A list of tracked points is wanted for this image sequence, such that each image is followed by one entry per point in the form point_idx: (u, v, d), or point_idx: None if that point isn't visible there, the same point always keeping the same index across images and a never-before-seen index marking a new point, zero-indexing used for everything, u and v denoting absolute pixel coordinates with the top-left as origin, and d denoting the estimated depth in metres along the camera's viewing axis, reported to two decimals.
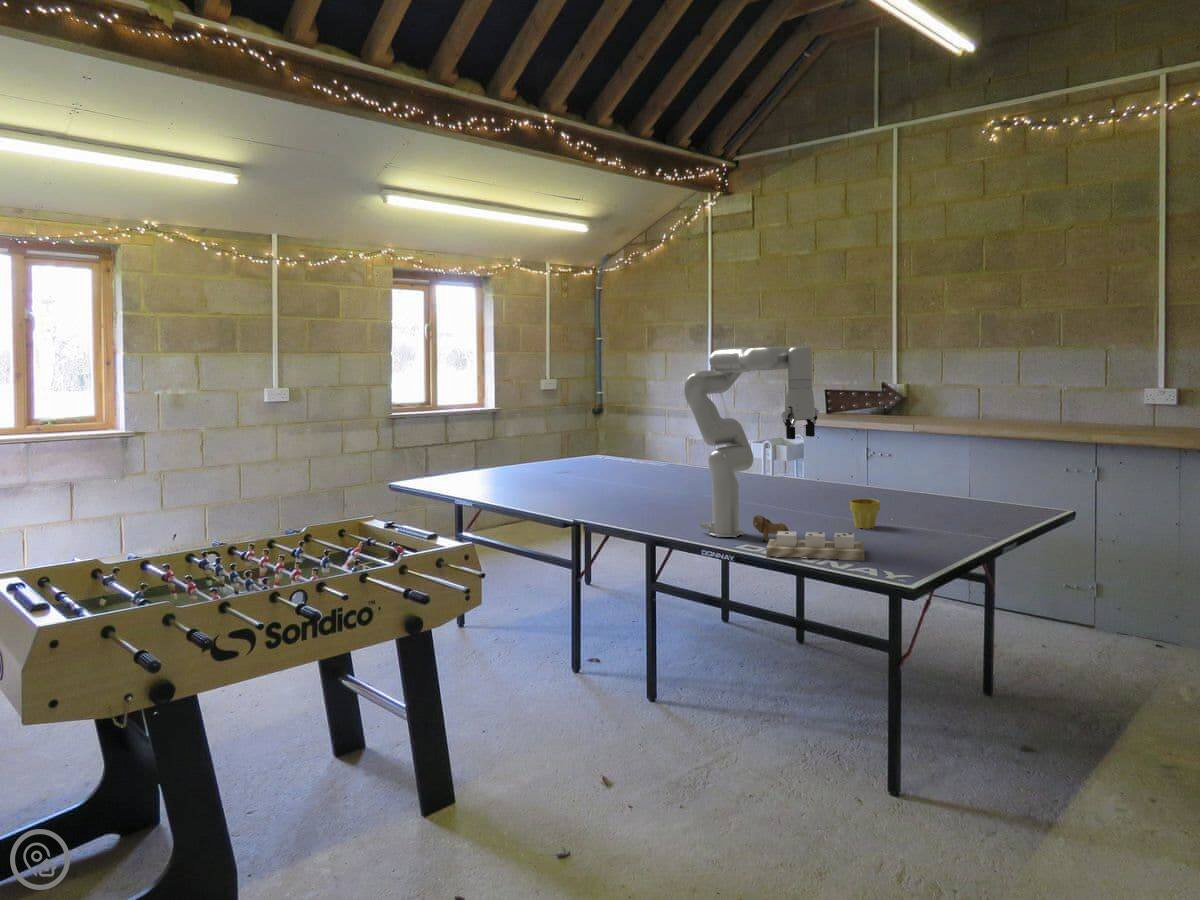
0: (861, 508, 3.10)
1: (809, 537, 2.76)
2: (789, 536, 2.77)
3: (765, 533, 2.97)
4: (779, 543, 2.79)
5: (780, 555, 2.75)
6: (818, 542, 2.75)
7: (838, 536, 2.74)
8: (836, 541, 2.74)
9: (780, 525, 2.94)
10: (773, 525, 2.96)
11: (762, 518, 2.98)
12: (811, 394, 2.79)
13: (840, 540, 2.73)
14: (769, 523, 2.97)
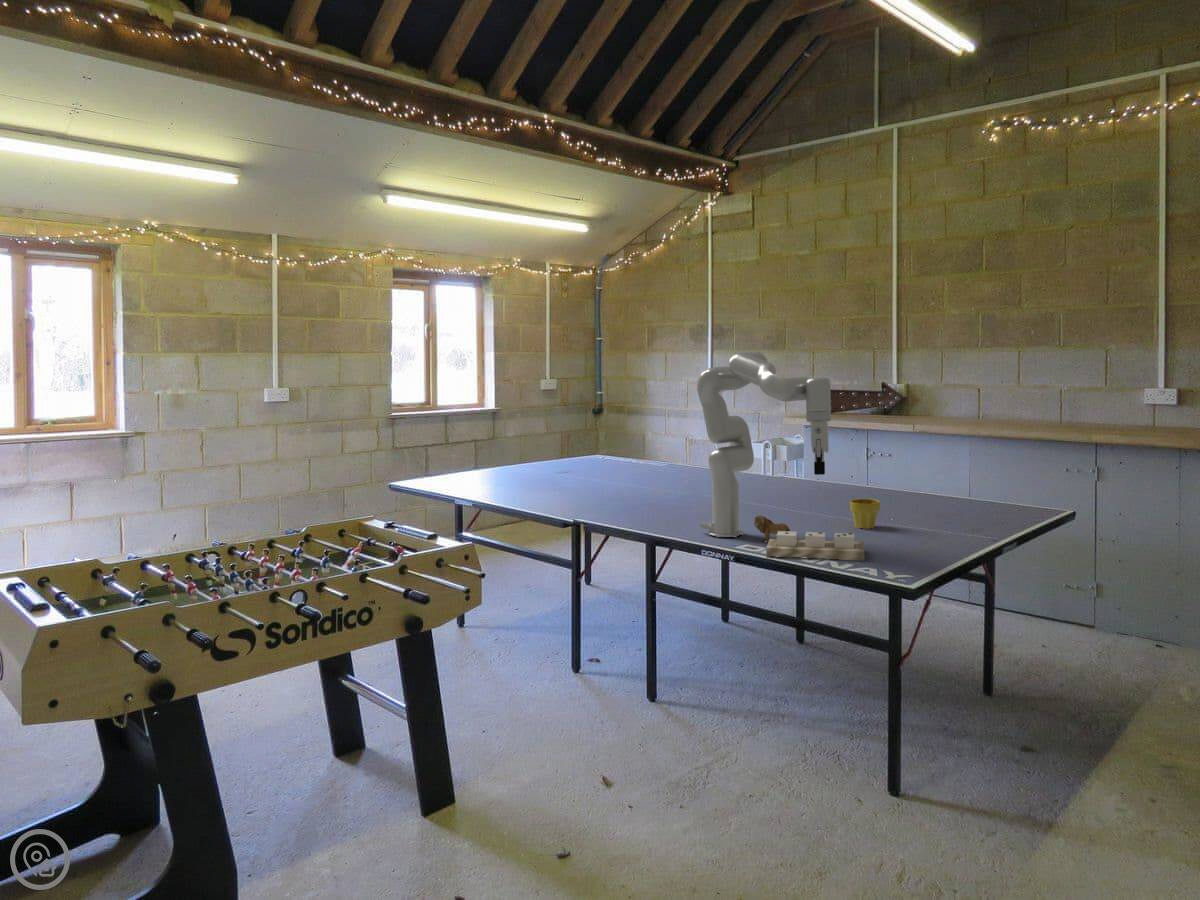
0: (861, 508, 3.10)
1: (809, 537, 2.76)
2: (789, 536, 2.77)
3: (767, 533, 2.97)
4: (779, 543, 2.79)
5: (780, 555, 2.75)
6: (818, 542, 2.75)
7: (838, 536, 2.74)
8: (836, 541, 2.74)
9: (782, 525, 2.94)
10: (775, 525, 2.96)
11: (763, 518, 2.97)
12: None
13: (840, 540, 2.73)
14: (770, 523, 2.97)
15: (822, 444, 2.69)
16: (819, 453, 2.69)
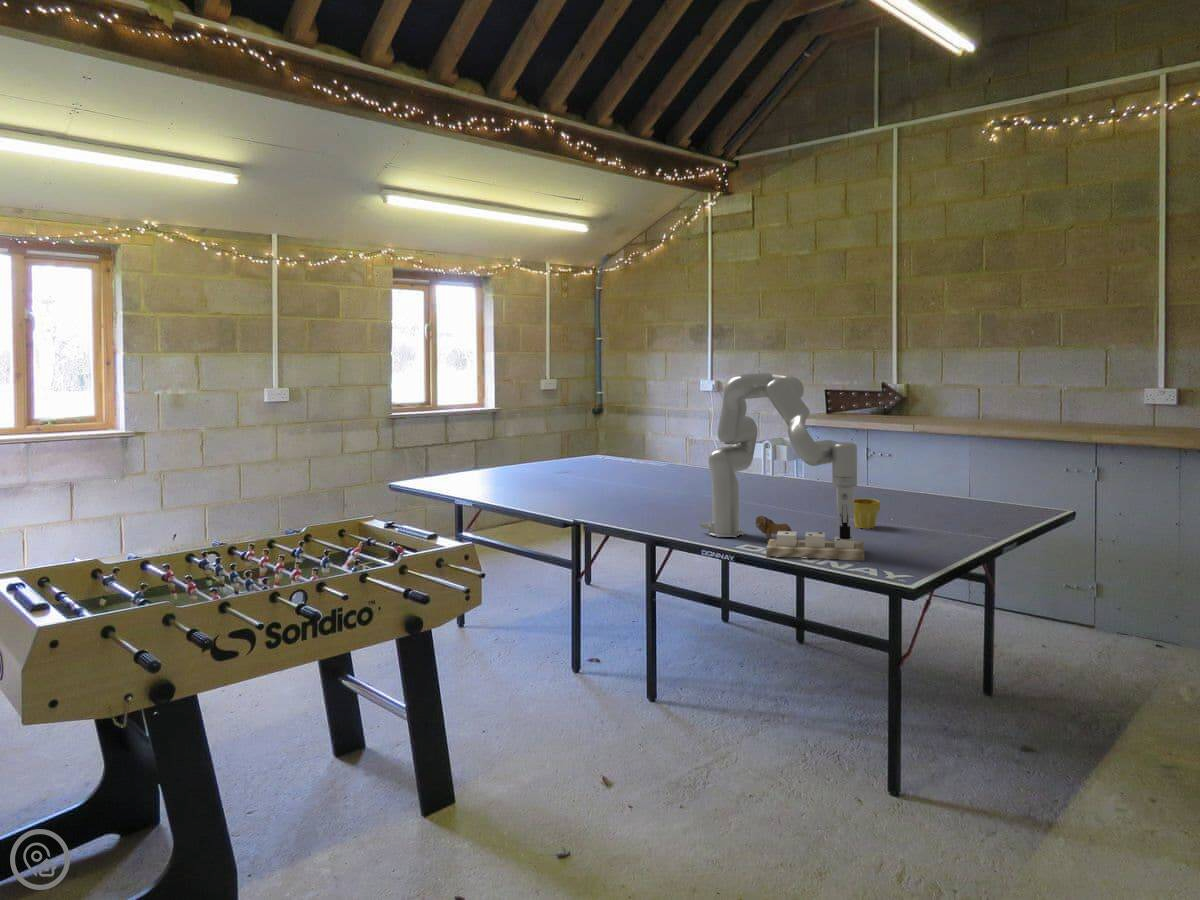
0: (861, 508, 3.10)
1: (809, 537, 2.76)
2: (789, 536, 2.77)
3: (768, 533, 2.96)
4: (779, 543, 2.79)
5: (780, 555, 2.75)
6: (818, 542, 2.75)
7: (838, 540, 2.74)
8: (836, 544, 2.74)
9: (783, 525, 2.93)
10: (776, 525, 2.95)
11: (765, 518, 2.97)
12: (837, 492, 2.72)
13: (840, 544, 2.73)
14: (772, 523, 2.96)
15: (849, 510, 2.69)
16: (845, 519, 2.70)
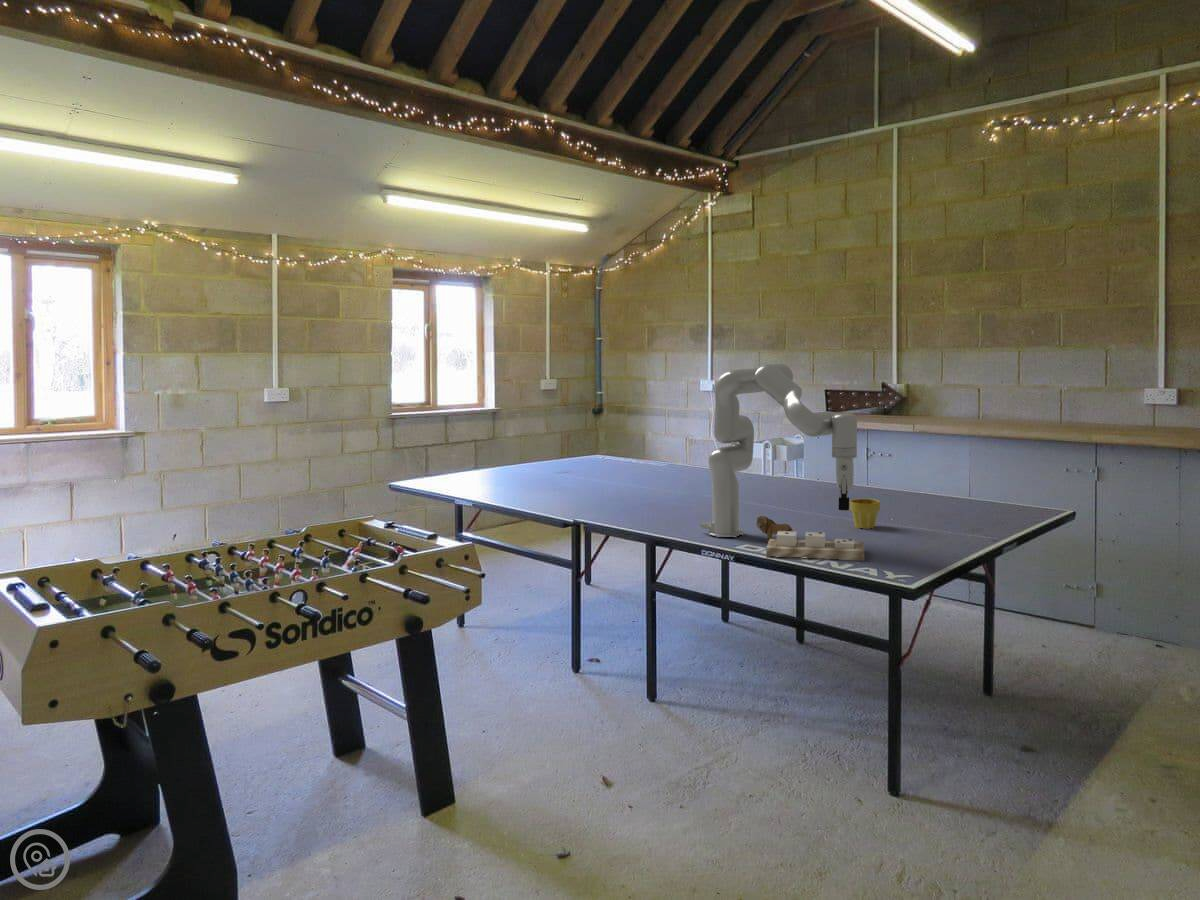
0: (861, 508, 3.10)
1: (809, 537, 2.76)
2: (789, 536, 2.77)
3: (769, 533, 2.96)
4: (779, 543, 2.79)
5: (780, 555, 2.75)
6: (818, 542, 2.75)
7: (838, 542, 2.74)
8: (836, 547, 2.74)
9: (784, 525, 2.93)
10: (777, 525, 2.95)
11: (766, 518, 2.97)
12: (836, 463, 2.71)
13: (840, 546, 2.73)
14: (773, 523, 2.96)
15: (848, 480, 2.68)
16: (844, 490, 2.69)
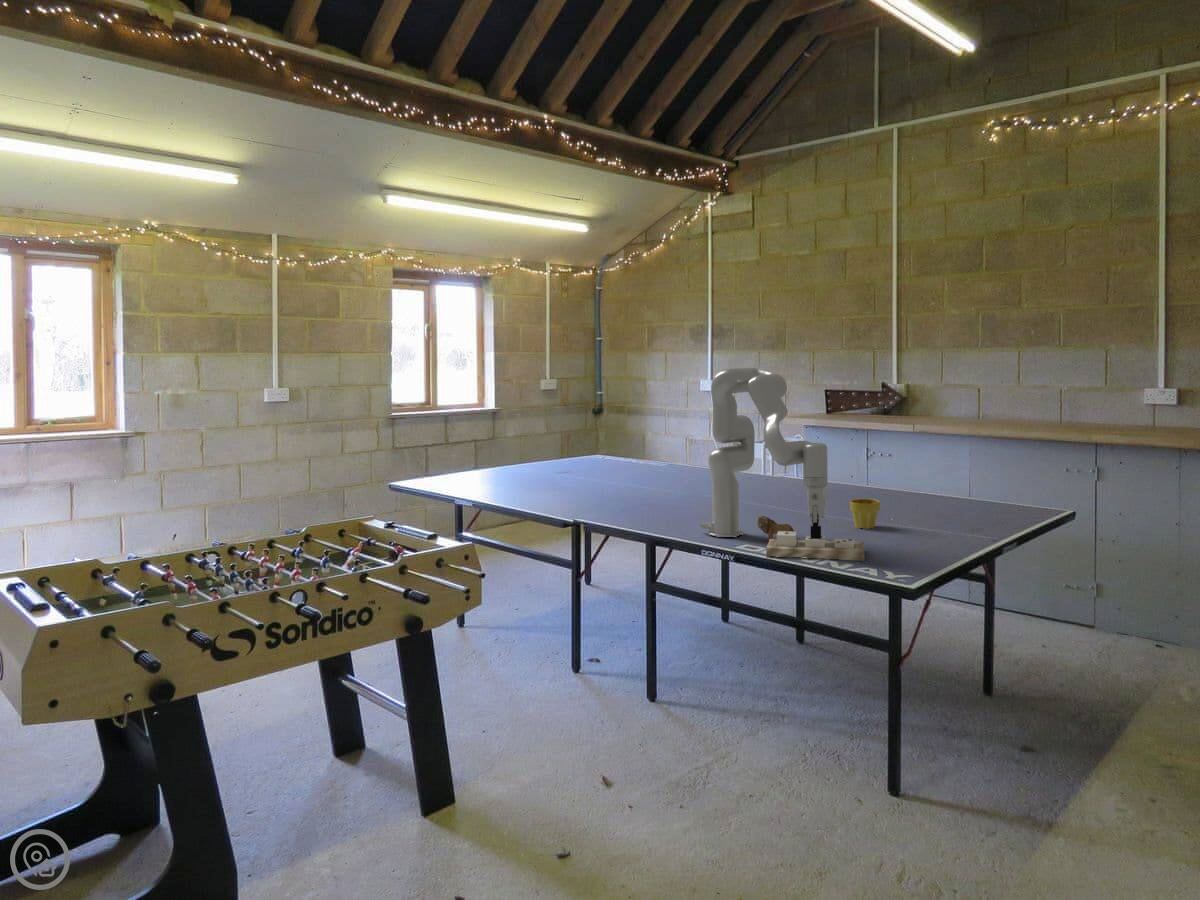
0: (861, 508, 3.10)
1: (809, 541, 2.76)
2: (789, 536, 2.77)
3: (770, 534, 2.96)
4: (779, 543, 2.79)
5: (780, 555, 2.75)
6: (818, 545, 2.75)
7: (838, 542, 2.74)
8: (836, 547, 2.74)
9: (785, 525, 2.93)
10: (778, 526, 2.95)
11: (767, 519, 2.96)
12: (807, 492, 2.74)
13: (840, 546, 2.73)
14: (774, 524, 2.96)
15: (819, 510, 2.72)
16: (815, 519, 2.72)
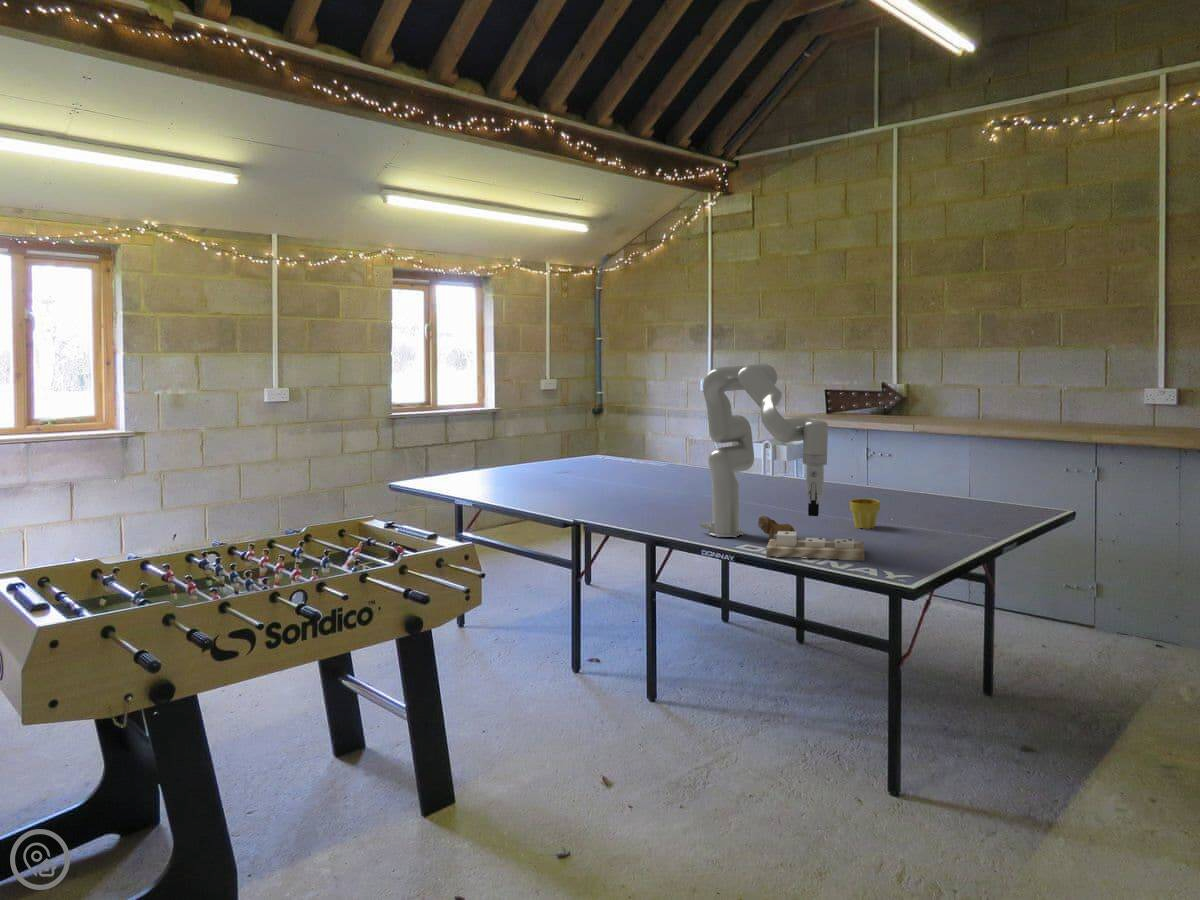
0: (861, 508, 3.10)
1: (809, 543, 2.76)
2: (789, 536, 2.77)
3: (771, 534, 2.96)
4: (779, 543, 2.79)
5: (780, 555, 2.75)
6: None
7: (838, 542, 2.74)
8: (836, 547, 2.74)
9: (786, 526, 2.93)
10: (779, 526, 2.95)
11: (767, 519, 2.96)
12: (806, 470, 2.74)
13: (840, 546, 2.73)
14: (775, 524, 2.96)
15: (817, 487, 2.71)
16: (814, 496, 2.72)
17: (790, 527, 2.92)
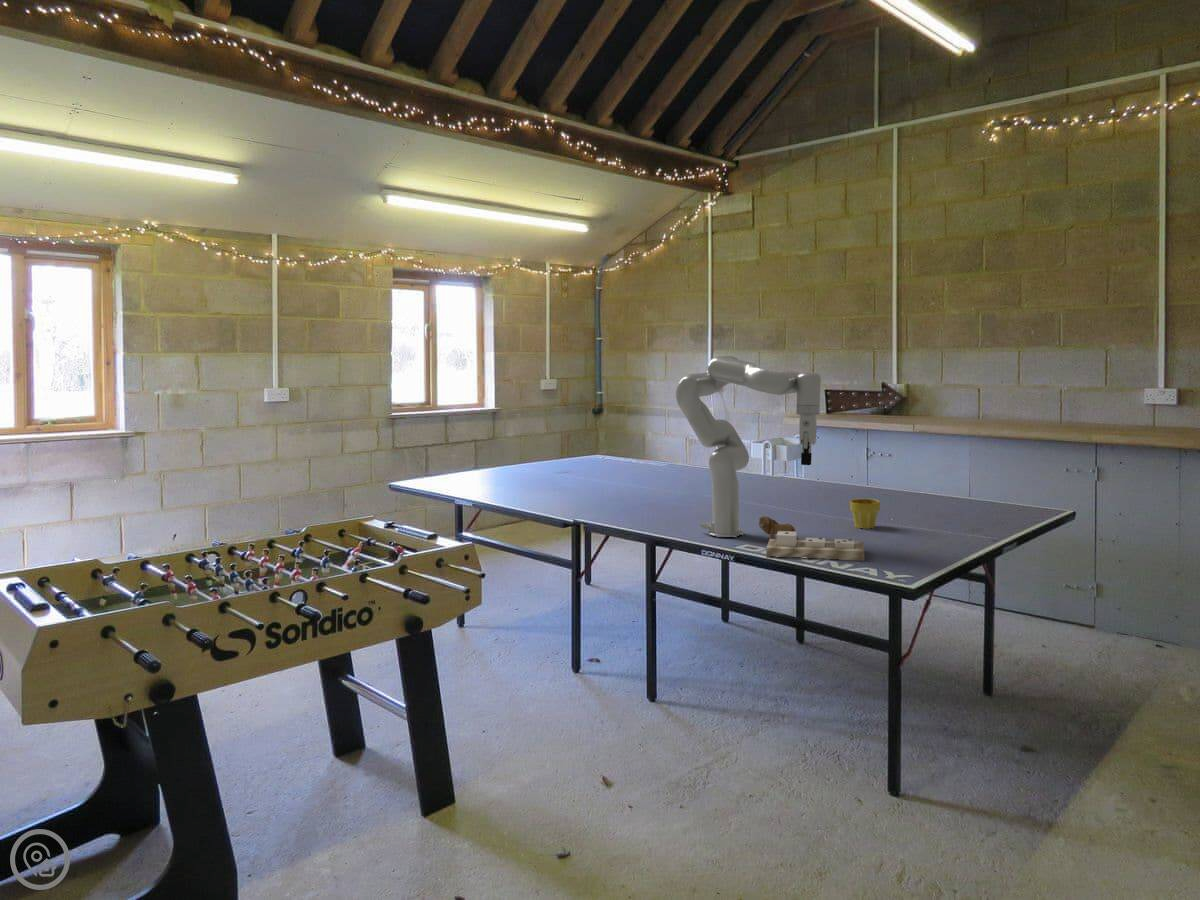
0: (861, 508, 3.10)
1: (809, 543, 2.76)
2: (789, 536, 2.77)
3: (772, 534, 2.95)
4: (779, 543, 2.79)
5: (780, 555, 2.75)
6: None
7: (838, 542, 2.74)
8: (836, 547, 2.74)
9: (787, 526, 2.93)
10: (780, 526, 2.95)
11: (768, 519, 2.96)
12: None
13: (840, 546, 2.73)
14: (775, 524, 2.96)
15: (809, 436, 2.83)
16: (806, 445, 2.83)
17: (791, 527, 2.92)
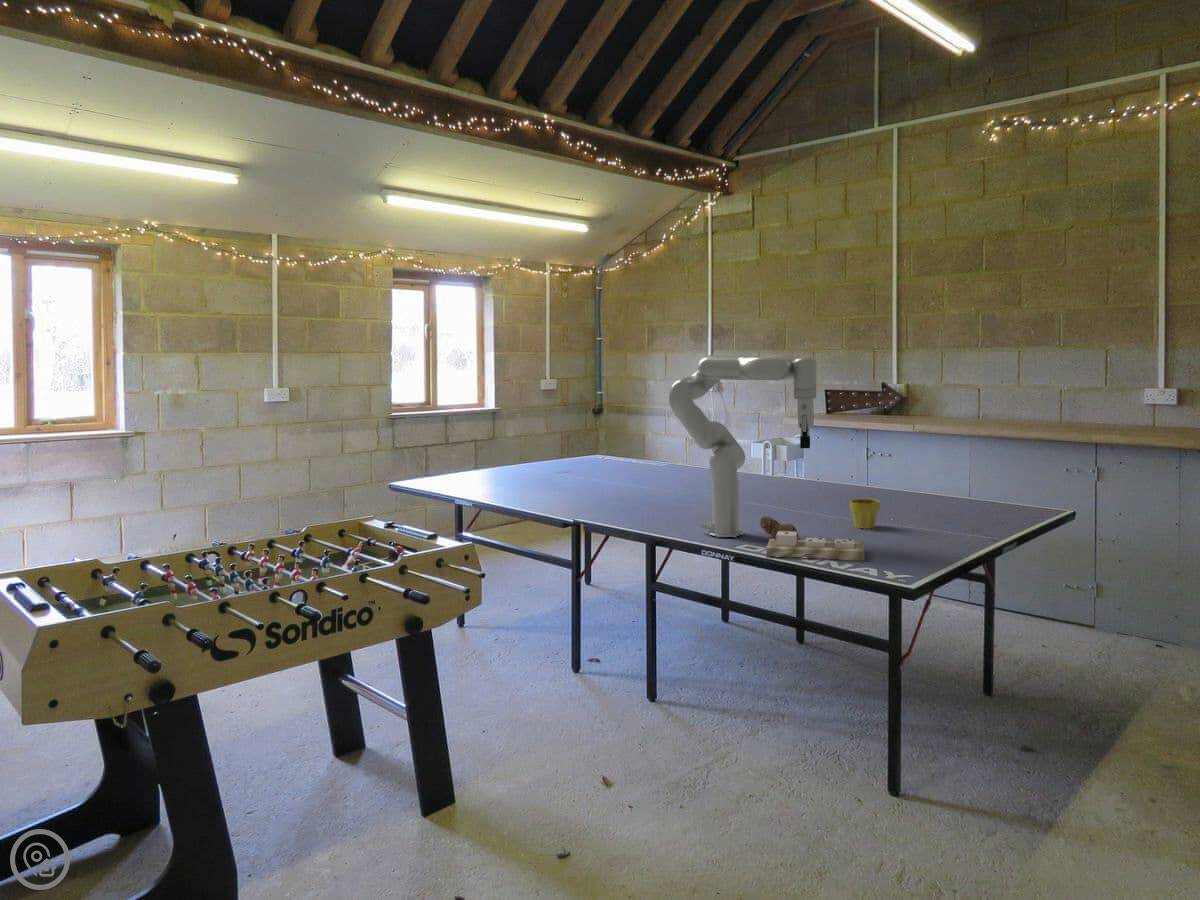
0: (861, 508, 3.10)
1: (809, 543, 2.76)
2: (789, 536, 2.77)
3: (773, 534, 2.95)
4: (779, 543, 2.79)
5: (780, 555, 2.75)
6: None
7: (838, 542, 2.74)
8: (836, 547, 2.74)
9: (788, 526, 2.93)
10: (781, 526, 2.94)
11: (770, 519, 2.96)
12: (797, 404, 2.90)
13: (840, 546, 2.73)
14: (777, 524, 2.95)
15: (808, 419, 2.88)
16: (805, 428, 2.88)
17: (792, 527, 2.92)
